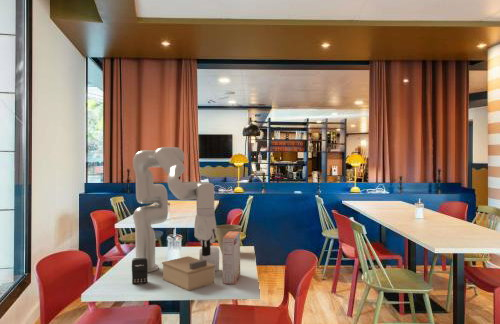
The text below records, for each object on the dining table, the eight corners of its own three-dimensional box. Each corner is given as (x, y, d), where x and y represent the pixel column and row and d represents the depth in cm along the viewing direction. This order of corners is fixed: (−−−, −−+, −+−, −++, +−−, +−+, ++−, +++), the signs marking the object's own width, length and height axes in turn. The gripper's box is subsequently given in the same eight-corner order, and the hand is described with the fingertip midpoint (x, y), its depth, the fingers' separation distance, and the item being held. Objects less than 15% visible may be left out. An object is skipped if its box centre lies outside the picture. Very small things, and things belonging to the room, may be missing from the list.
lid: (162, 263, 169) (162, 256, 169) (188, 257, 179) (188, 251, 179) (188, 274, 154) (188, 266, 154) (215, 266, 164) (215, 259, 164)
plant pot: (240, 250, 222) (240, 224, 221) (241, 257, 207) (241, 229, 207) (215, 251, 221) (215, 224, 220) (215, 257, 206) (215, 229, 206)
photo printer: (216, 268, 186) (216, 244, 186) (220, 270, 182) (220, 245, 182) (197, 272, 180) (197, 246, 180) (201, 274, 177) (201, 248, 177)
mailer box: (163, 279, 169) (163, 264, 169) (188, 273, 179) (188, 258, 178) (188, 291, 154) (188, 274, 154) (214, 283, 164) (214, 267, 164)
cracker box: (228, 274, 177) (228, 230, 177) (240, 274, 176) (240, 231, 176) (221, 284, 163) (221, 237, 163) (234, 284, 162) (234, 237, 162)
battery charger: (131, 285, 161) (131, 259, 161) (132, 282, 165) (131, 257, 165) (147, 284, 163) (147, 258, 163) (148, 281, 167) (148, 256, 166)
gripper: (188, 211, 158) (188, 254, 158) (209, 214, 147) (210, 260, 147) (202, 209, 163) (202, 250, 163) (223, 212, 153) (224, 256, 153)
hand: (206, 255), depth 155 cm, fingers closed
